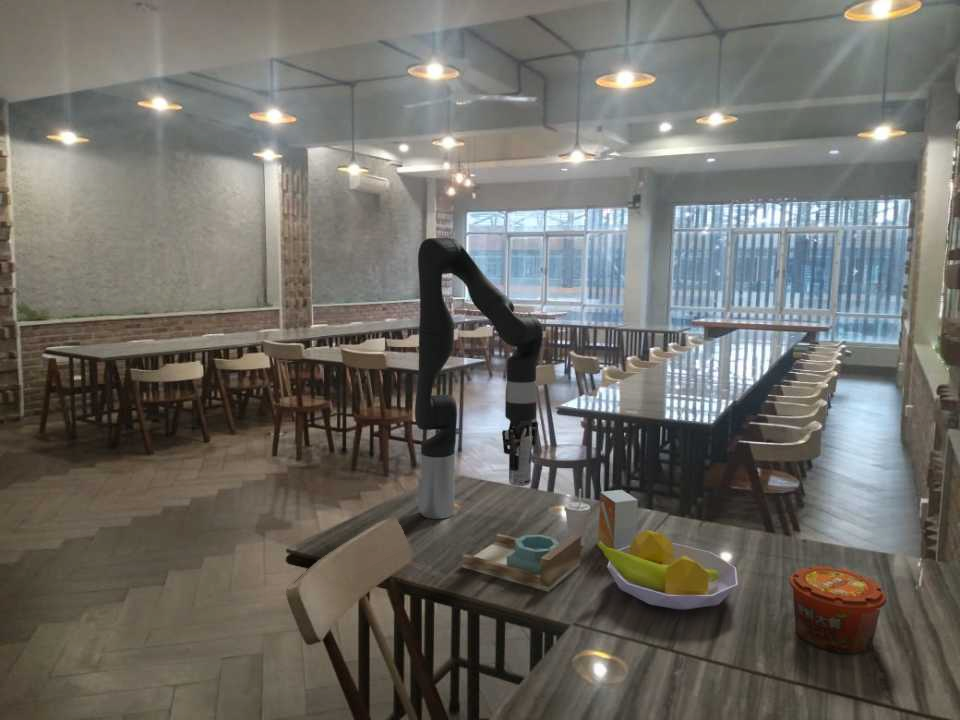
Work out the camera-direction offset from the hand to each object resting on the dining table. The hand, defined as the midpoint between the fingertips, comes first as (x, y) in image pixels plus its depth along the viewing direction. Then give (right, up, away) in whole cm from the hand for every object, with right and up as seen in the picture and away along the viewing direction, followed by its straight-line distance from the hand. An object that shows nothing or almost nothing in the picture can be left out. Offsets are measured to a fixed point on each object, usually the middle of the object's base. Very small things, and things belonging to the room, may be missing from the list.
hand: (520, 467), depth 171 cm
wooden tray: (0, -21, -10) cm, 24 cm away
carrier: (+3, -20, -12) cm, 24 cm away
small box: (+24, -20, +2) cm, 31 cm away
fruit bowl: (+29, -23, -23) cm, 44 cm away
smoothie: (+14, -20, +3) cm, 24 cm away
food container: (+56, -26, -40) cm, 74 cm away
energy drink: (0, -4, +1) cm, 4 cm away
